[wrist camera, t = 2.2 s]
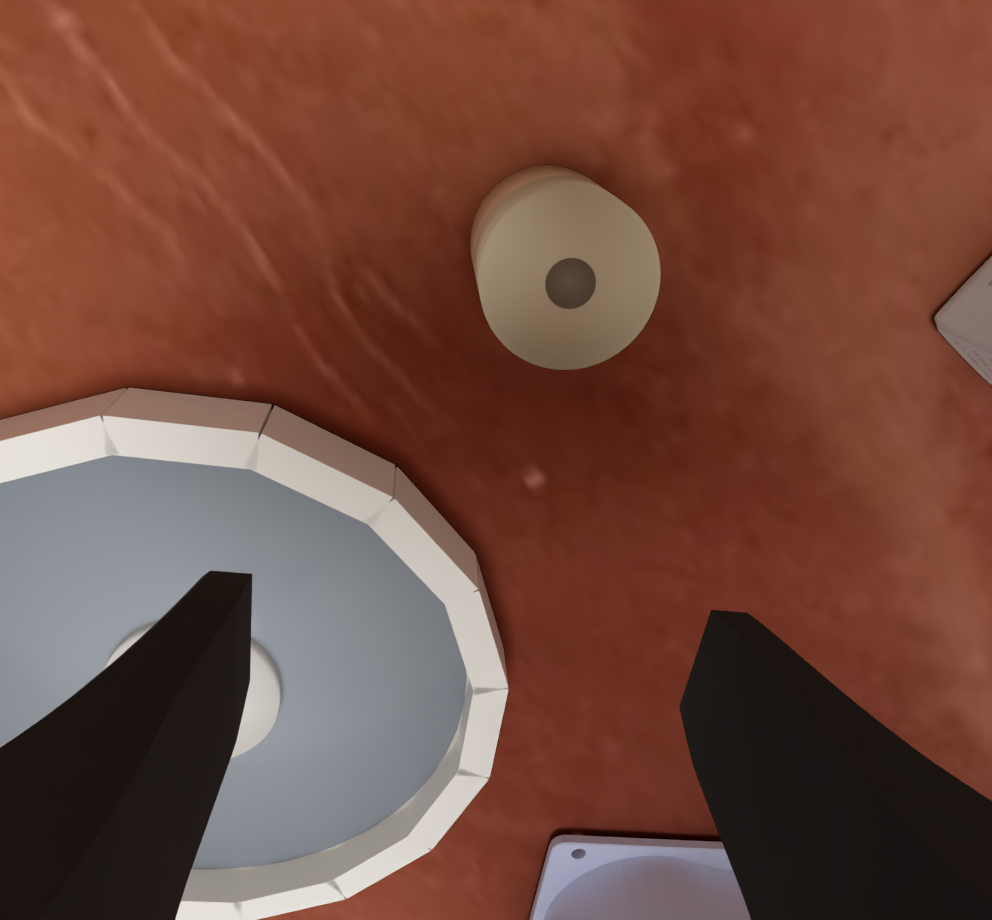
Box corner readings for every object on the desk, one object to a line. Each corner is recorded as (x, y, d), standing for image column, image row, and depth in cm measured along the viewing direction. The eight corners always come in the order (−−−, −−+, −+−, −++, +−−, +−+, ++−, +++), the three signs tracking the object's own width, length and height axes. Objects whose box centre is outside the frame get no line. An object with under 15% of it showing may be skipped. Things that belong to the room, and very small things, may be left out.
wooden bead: (633, 177, 19) (681, 203, 15) (600, 325, 20) (637, 381, 17) (482, 153, 18) (494, 173, 15) (460, 305, 20) (466, 359, 16)
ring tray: (546, 435, 22) (556, 466, 20) (455, 881, 29) (457, 929, 28) (-189, 350, 19) (-247, 376, 17) (-79, 861, 27) (-111, 912, 25)
